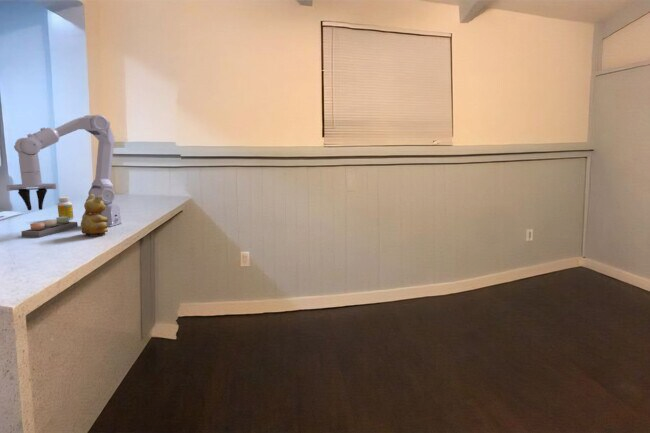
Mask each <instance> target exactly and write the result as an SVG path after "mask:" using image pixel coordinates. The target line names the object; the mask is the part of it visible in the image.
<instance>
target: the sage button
mask: <svg viewBox="0 0 650 433" xmlns="http://www.w3.org/2000/svg"><path fill="white" fill-rule="evenodd" d="M55 220H57V223H58V224H62V223H68V222H70V220H69V218H68V217H59V216H58V217H56V218H55Z"/></svg>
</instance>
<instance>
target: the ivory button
mask: <svg viewBox="0 0 650 433" xmlns="http://www.w3.org/2000/svg"><path fill="white" fill-rule="evenodd" d="M43 223H44V226H45V227H51V226H57V219H56V218H54V219H52V218H51V219H46V220H45V219H44V220H43Z"/></svg>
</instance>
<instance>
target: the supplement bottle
mask: <svg viewBox="0 0 650 433" xmlns="http://www.w3.org/2000/svg"><path fill="white" fill-rule="evenodd" d="M70 199H71V198H70V197H69V196H61V197H58V203H57V205H56V206H57V212H58V213H57V214H58V217H68V218H69V221H70V220H73V219H74V211H73V208H74V207H73V203H72V202H71V200H70Z"/></svg>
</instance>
